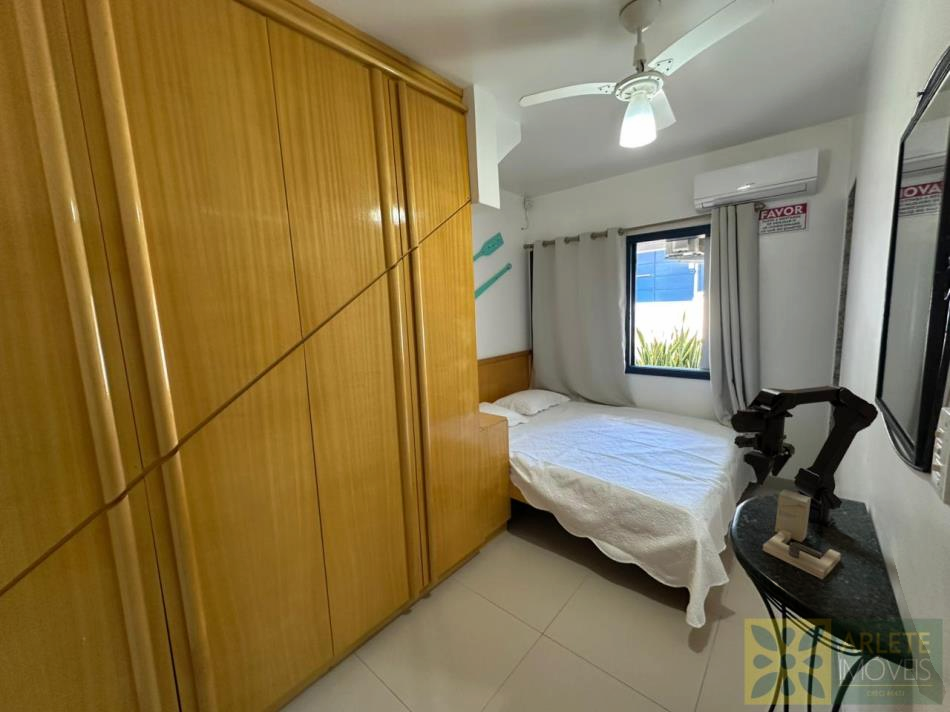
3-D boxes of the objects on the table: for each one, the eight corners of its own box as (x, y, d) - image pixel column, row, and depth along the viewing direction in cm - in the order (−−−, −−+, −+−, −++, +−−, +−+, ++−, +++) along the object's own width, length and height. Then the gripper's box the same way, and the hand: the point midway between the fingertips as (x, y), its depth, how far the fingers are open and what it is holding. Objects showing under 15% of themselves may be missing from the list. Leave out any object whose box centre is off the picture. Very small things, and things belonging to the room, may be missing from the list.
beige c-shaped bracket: (781, 535, 102) (783, 517, 101) (839, 560, 91) (842, 540, 90) (762, 551, 96) (764, 532, 95) (822, 579, 85) (824, 558, 85)
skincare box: (774, 531, 103) (777, 493, 102) (779, 526, 106) (782, 488, 104) (802, 543, 98) (806, 502, 97) (807, 536, 101) (811, 497, 99)
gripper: (754, 418, 117) (751, 463, 119) (725, 430, 108) (722, 478, 110) (797, 427, 107) (793, 475, 109) (769, 441, 98) (765, 493, 100)
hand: (767, 480), depth 107 cm, fingers open, 9 cm apart
